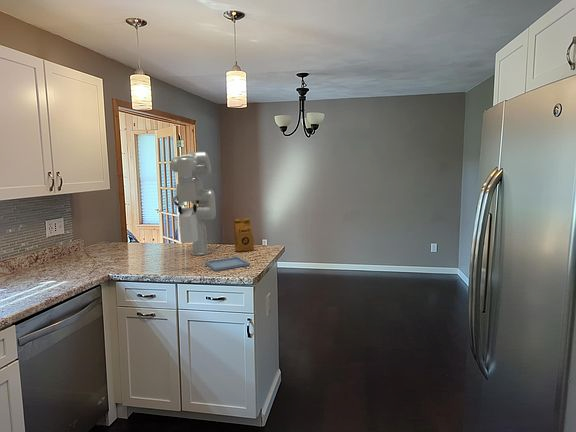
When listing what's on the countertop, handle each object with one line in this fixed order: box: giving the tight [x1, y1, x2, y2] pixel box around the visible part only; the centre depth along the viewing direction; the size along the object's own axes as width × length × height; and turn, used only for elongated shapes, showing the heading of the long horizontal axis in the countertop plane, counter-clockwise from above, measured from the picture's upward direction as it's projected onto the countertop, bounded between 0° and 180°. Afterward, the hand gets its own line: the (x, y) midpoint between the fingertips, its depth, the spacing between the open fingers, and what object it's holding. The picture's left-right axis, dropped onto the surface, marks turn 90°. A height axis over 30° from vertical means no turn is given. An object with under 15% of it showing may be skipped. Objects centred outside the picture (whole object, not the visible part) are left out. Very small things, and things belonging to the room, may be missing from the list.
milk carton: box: [178, 207, 198, 244], centre depth 217 cm, size 7×7×19 cm
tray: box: [204, 256, 251, 272], centre depth 223 cm, size 20×20×2 cm
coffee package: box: [233, 217, 255, 253], centre depth 261 cm, size 10×12×22 cm
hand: (187, 212), depth 216 cm, fingers closed on milk carton, 7 cm apart
